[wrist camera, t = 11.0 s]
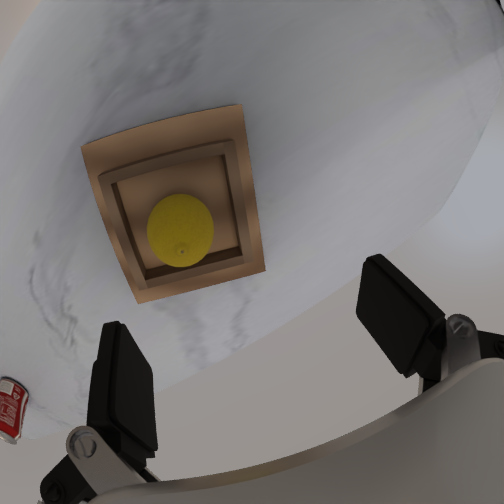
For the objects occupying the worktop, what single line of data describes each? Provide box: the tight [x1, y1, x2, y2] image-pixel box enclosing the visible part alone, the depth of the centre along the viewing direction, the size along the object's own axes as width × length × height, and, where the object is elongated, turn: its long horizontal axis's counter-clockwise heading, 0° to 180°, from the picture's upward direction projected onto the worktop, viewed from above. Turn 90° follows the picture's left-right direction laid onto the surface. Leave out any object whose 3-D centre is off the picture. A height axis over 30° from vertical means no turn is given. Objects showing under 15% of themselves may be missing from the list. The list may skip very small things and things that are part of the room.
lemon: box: [147, 194, 214, 267], centre depth 22 cm, size 6×6×8 cm
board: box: [81, 104, 266, 304], centre depth 25 cm, size 18×15×4 cm
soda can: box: [0, 379, 29, 444], centre depth 27 cm, size 7×7×12 cm
